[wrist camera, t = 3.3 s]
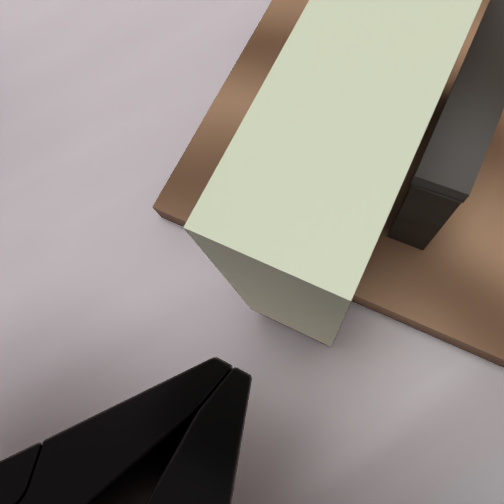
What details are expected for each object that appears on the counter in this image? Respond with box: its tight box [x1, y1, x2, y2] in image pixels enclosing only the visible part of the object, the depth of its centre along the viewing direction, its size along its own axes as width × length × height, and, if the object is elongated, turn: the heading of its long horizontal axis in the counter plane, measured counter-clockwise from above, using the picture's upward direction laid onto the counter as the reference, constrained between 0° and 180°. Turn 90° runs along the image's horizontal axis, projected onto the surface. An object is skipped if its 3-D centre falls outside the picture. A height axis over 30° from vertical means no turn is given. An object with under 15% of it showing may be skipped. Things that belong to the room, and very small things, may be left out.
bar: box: [183, 0, 482, 347], centre depth 12 cm, size 11×3×8 cm, turn 153°
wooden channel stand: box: [153, 0, 504, 367], centre depth 15 cm, size 16×14×6 cm
